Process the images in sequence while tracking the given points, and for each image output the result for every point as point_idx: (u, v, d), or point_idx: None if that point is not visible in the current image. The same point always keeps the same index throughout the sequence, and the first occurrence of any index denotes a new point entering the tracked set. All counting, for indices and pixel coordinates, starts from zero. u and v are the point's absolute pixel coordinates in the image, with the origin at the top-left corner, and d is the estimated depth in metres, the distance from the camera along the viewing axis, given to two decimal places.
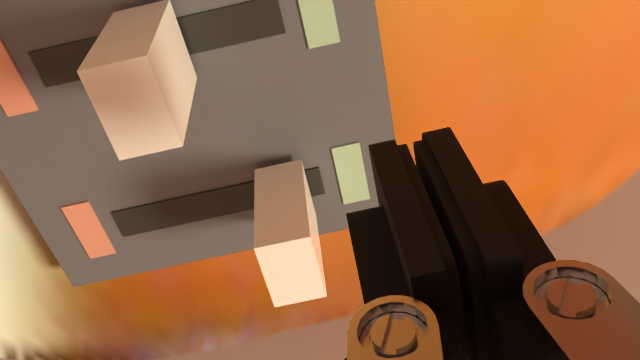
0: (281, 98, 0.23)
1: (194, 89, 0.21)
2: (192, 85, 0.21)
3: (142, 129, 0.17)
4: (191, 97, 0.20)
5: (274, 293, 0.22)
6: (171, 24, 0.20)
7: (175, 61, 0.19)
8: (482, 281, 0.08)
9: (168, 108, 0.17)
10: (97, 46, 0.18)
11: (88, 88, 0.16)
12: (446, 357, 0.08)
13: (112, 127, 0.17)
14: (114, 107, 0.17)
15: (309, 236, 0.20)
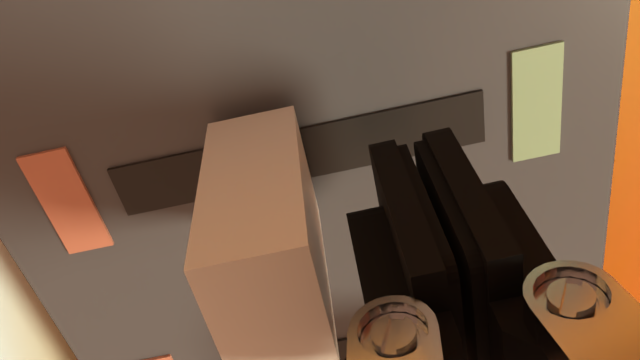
0: None
1: (321, 234, 0.14)
2: (320, 230, 0.14)
3: (280, 348, 0.10)
4: (324, 254, 0.13)
5: None
6: (301, 148, 0.13)
7: (312, 210, 0.12)
8: (482, 281, 0.08)
9: (327, 319, 0.10)
10: (204, 204, 0.11)
11: (200, 295, 0.09)
12: (446, 357, 0.08)
13: (231, 346, 0.10)
14: (239, 320, 0.10)
15: None
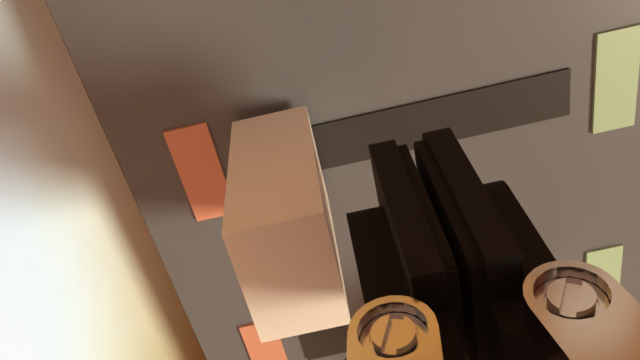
0: (541, 194, 0.18)
1: (331, 218, 0.16)
2: (330, 214, 0.16)
3: (300, 304, 0.12)
4: None
5: None
6: (313, 141, 0.15)
7: (324, 193, 0.14)
8: (482, 281, 0.08)
9: (340, 278, 0.12)
10: (234, 185, 0.13)
11: (234, 256, 0.11)
12: (446, 357, 0.08)
13: (259, 303, 0.12)
14: (266, 278, 0.12)
15: None
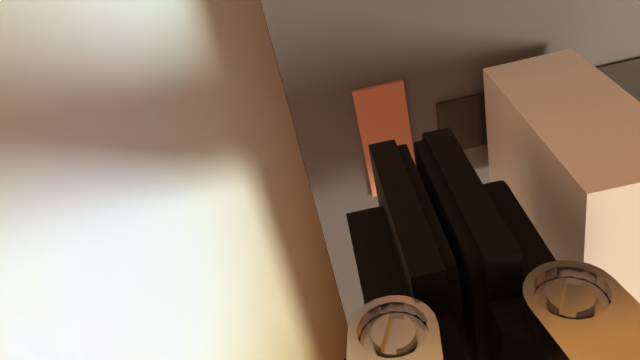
0: None
1: None
2: None
3: None
4: None
5: None
6: None
7: None
8: (482, 281, 0.08)
9: None
10: (552, 136, 0.10)
11: (592, 221, 0.09)
12: (446, 357, 0.08)
13: None
14: (618, 249, 0.10)
15: None
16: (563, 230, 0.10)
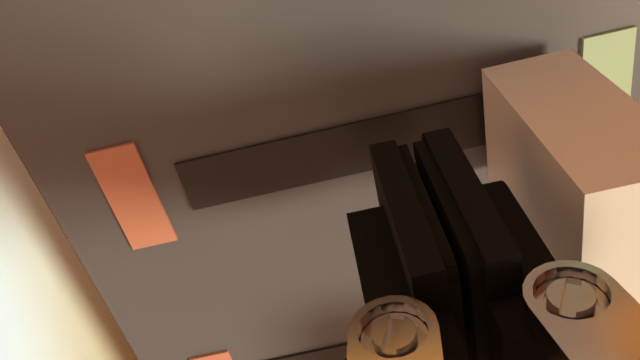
0: None
1: None
2: None
3: None
4: None
5: None
6: None
7: None
8: (481, 281, 0.08)
9: None
10: (550, 137, 0.10)
11: (590, 221, 0.09)
12: (446, 357, 0.08)
13: None
14: (616, 249, 0.10)
15: None
16: (561, 230, 0.10)
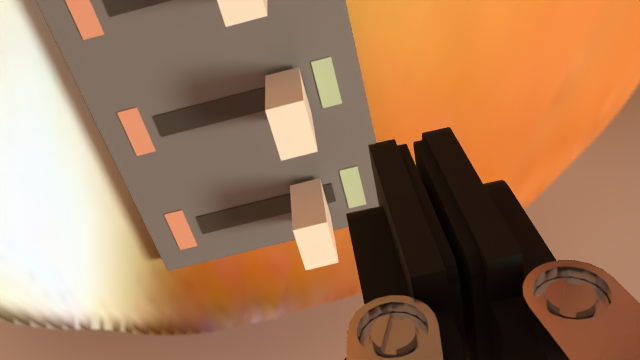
0: None
1: (312, 120, 0.34)
2: (311, 117, 0.34)
3: (296, 142, 0.30)
4: None
5: (305, 260, 0.34)
6: (302, 82, 0.33)
7: (307, 103, 0.32)
8: (482, 281, 0.08)
9: (311, 130, 0.30)
10: (268, 96, 0.31)
11: (270, 119, 0.30)
12: (446, 357, 0.08)
13: (279, 141, 0.30)
14: (282, 129, 0.30)
15: (326, 222, 0.33)
16: None
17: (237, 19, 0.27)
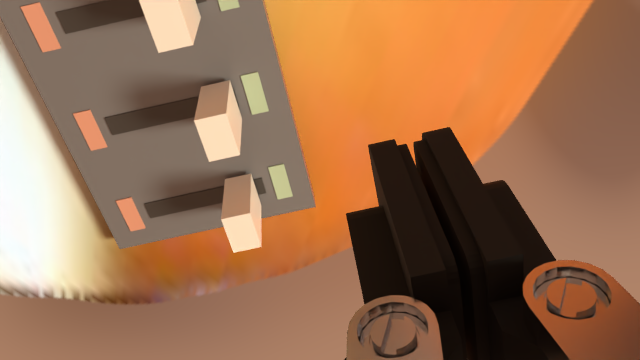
0: None
1: (241, 125, 0.40)
2: (240, 123, 0.40)
3: (221, 147, 0.36)
4: (240, 130, 0.39)
5: (233, 244, 0.41)
6: (231, 93, 0.39)
7: (234, 112, 0.38)
8: (482, 281, 0.08)
9: (234, 137, 0.36)
10: (199, 107, 0.37)
11: (198, 128, 0.35)
12: (446, 357, 0.08)
13: (207, 146, 0.36)
14: (209, 136, 0.36)
15: (249, 213, 0.39)
16: None
17: (168, 46, 0.33)
